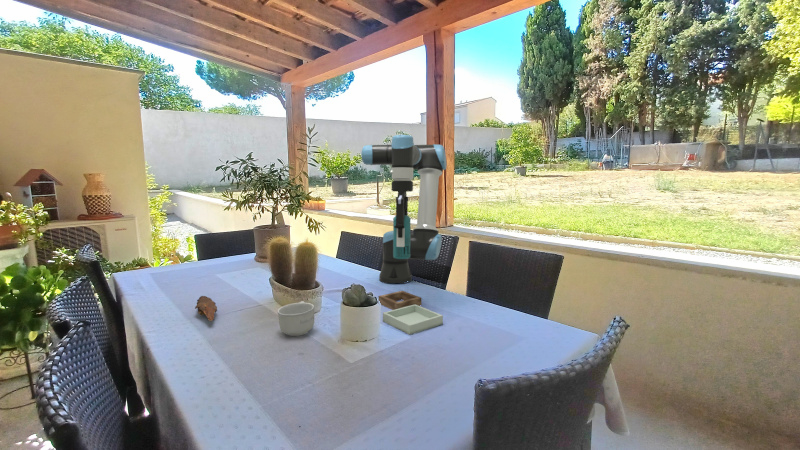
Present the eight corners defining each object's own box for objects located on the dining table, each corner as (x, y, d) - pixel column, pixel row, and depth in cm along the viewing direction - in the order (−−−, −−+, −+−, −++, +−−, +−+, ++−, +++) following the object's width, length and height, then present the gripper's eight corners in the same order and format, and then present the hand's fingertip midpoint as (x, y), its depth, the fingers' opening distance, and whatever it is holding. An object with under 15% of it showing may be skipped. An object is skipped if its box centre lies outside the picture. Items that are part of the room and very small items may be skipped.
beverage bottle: (403, 264, 133) (403, 206, 131) (388, 261, 137) (388, 205, 135) (414, 261, 138) (415, 205, 136) (400, 258, 142) (400, 205, 140)
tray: (415, 312, 136) (415, 304, 136) (442, 324, 125) (442, 315, 125) (382, 321, 127) (382, 312, 127) (409, 335, 116) (409, 325, 116)
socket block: (402, 297, 152) (402, 290, 152) (421, 305, 143) (421, 297, 143) (378, 303, 145) (378, 296, 145) (397, 312, 136) (397, 303, 136)
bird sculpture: (202, 330, 120) (201, 314, 119) (190, 308, 140) (189, 295, 139) (225, 325, 124) (224, 310, 123) (210, 304, 144) (209, 291, 143)
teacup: (305, 341, 112) (304, 314, 111) (271, 338, 114) (270, 312, 113) (324, 323, 126) (323, 299, 125) (293, 321, 128) (292, 297, 127)
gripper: (395, 180, 145) (395, 240, 147) (387, 179, 126) (386, 249, 128) (415, 180, 144) (414, 241, 146) (409, 179, 125) (409, 249, 127)
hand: (401, 244), depth 137 cm, fingers closed on beverage bottle, 6 cm apart
